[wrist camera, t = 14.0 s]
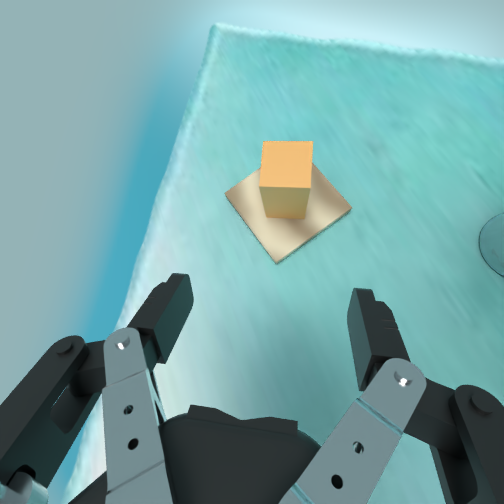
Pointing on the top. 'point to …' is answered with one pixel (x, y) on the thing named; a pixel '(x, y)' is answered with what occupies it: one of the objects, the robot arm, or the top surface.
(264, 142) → the tall orange pillar
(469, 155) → the top surface
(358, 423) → the robot arm
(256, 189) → the post board
